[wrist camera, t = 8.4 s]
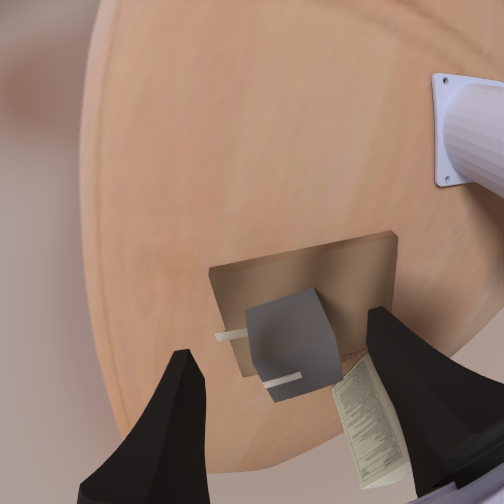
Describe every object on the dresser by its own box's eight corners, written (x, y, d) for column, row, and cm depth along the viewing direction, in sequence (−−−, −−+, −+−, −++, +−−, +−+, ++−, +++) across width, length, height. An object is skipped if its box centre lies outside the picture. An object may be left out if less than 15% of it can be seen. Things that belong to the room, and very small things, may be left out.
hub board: (391, 230, 20) (415, 255, 17) (381, 336, 26) (395, 364, 23) (196, 270, 21) (192, 303, 18) (232, 370, 26) (234, 402, 23)
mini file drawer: (313, 287, 21) (335, 336, 17) (325, 333, 23) (344, 381, 19) (244, 310, 21) (252, 364, 17) (265, 353, 24) (275, 403, 20)
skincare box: (358, 392, 31) (390, 485, 20) (328, 388, 29) (358, 491, 19) (395, 356, 28) (441, 454, 18) (365, 350, 27) (412, 460, 16)
